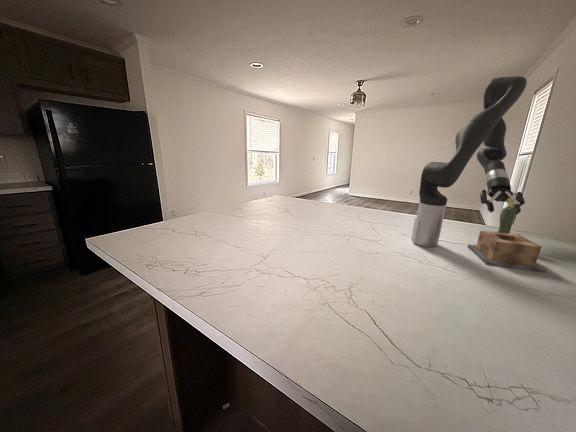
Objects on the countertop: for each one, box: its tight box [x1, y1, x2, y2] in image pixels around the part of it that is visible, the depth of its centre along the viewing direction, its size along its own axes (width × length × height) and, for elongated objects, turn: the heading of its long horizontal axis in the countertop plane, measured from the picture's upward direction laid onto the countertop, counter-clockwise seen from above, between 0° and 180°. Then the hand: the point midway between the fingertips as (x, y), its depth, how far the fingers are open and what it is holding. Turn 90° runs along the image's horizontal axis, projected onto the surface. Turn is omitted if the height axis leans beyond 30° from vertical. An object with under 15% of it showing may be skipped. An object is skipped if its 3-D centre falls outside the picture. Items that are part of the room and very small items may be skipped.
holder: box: [467, 230, 547, 274], centre depth 82 cm, size 16×16×8 cm
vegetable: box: [497, 198, 516, 234], centre depth 94 cm, size 4×4×20 cm
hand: (504, 212), depth 95 cm, fingers open, 8 cm apart
